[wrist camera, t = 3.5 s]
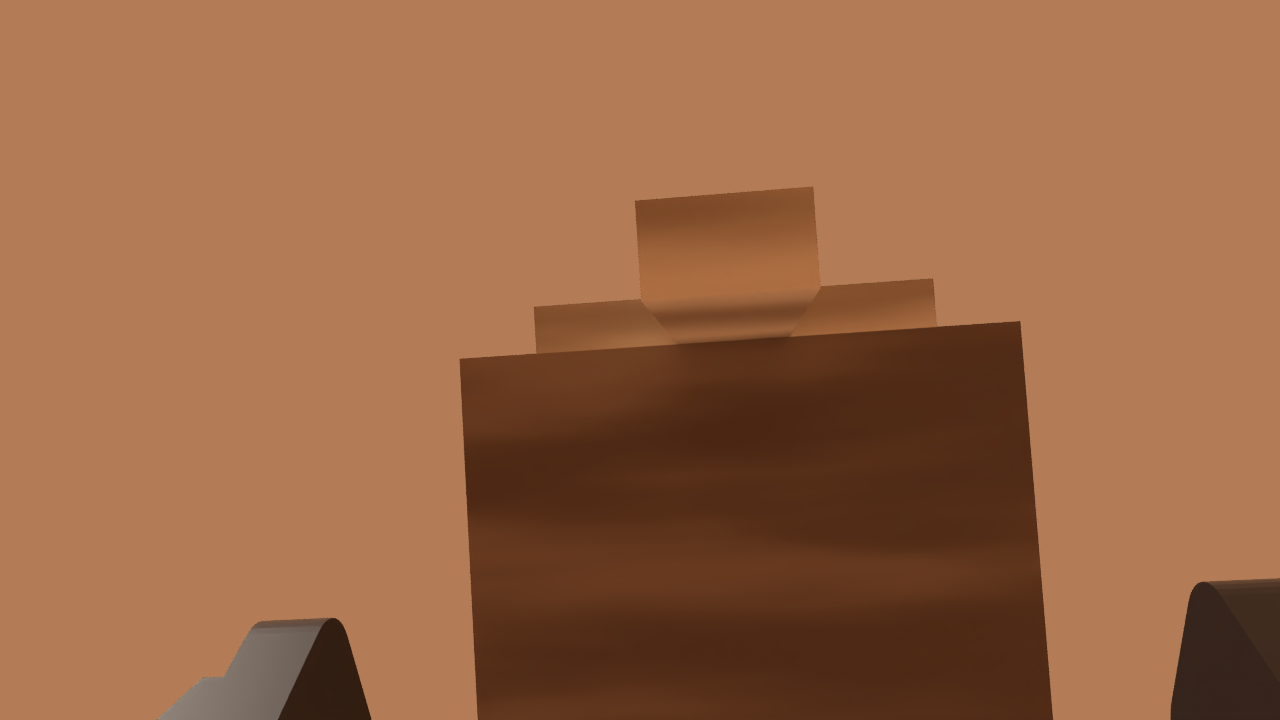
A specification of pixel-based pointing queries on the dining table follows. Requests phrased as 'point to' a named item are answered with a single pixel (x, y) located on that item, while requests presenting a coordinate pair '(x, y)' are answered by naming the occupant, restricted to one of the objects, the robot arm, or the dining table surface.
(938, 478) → the walnut plinth
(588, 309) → the tan stepped slab
